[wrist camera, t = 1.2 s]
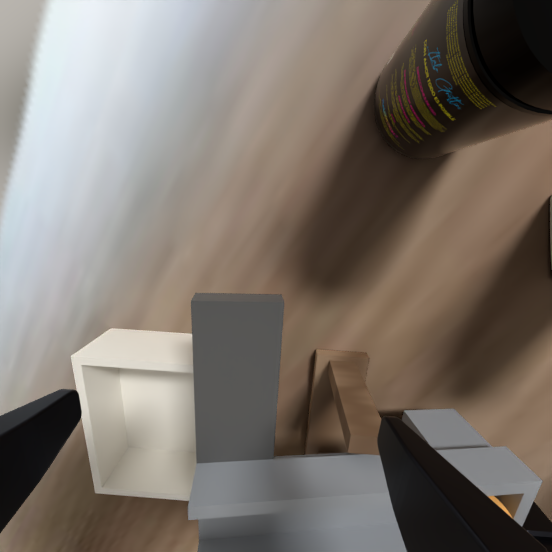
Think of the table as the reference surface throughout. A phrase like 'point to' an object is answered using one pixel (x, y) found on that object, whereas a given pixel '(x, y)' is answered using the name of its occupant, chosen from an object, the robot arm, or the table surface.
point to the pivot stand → (341, 406)
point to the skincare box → (551, 227)
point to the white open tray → (139, 412)
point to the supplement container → (467, 76)
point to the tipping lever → (303, 468)
